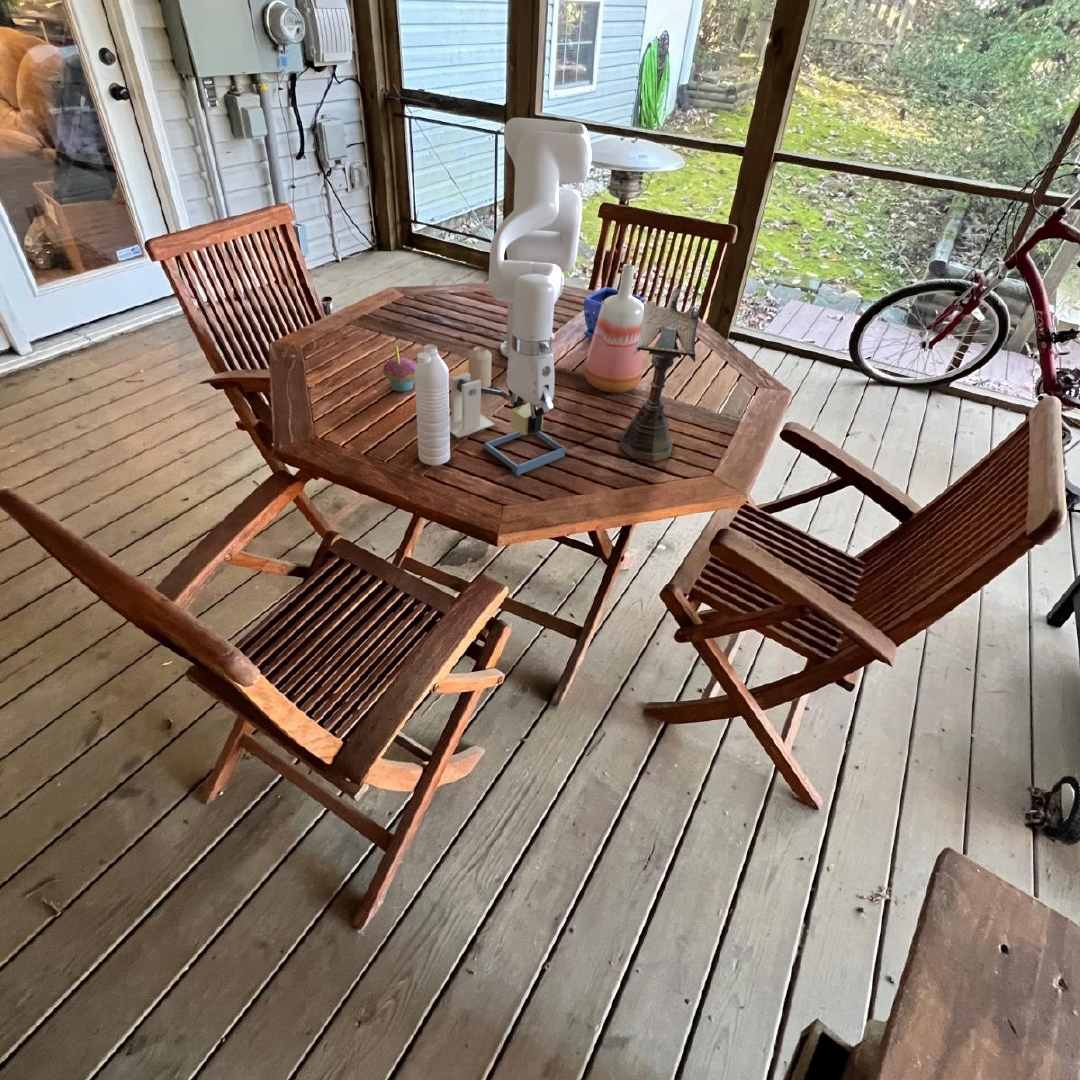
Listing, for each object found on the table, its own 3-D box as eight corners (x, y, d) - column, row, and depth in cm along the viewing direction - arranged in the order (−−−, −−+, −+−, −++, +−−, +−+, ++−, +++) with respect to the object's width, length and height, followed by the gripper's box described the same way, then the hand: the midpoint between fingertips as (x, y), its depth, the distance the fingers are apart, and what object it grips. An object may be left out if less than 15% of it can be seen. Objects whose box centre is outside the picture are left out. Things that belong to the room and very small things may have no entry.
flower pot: (640, 337, 199) (646, 297, 192) (619, 352, 190) (625, 310, 183) (600, 325, 204) (605, 285, 197) (578, 339, 195) (582, 298, 188)
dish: (531, 433, 154) (532, 425, 152) (564, 456, 147) (565, 447, 146) (484, 451, 147) (484, 442, 145) (516, 475, 140) (517, 467, 139)
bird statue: (675, 478, 144) (713, 315, 121) (613, 467, 145) (640, 304, 123) (681, 439, 156) (716, 285, 134) (624, 429, 158) (650, 275, 136)
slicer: (473, 413, 159) (474, 366, 151) (494, 428, 154) (496, 380, 147) (437, 425, 154) (435, 377, 146) (457, 441, 149) (457, 392, 142)
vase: (650, 386, 176) (672, 268, 157) (615, 404, 167) (634, 281, 148) (606, 366, 183) (622, 251, 164) (571, 382, 174) (583, 263, 155)
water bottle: (424, 449, 146) (419, 336, 130) (453, 454, 145) (452, 341, 129) (411, 471, 139) (404, 355, 123) (442, 476, 138) (439, 360, 123)
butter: (528, 419, 145) (529, 402, 143) (542, 428, 143) (543, 411, 140) (510, 426, 143) (511, 409, 140) (523, 435, 140) (524, 418, 138)
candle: (494, 385, 170) (495, 347, 164) (484, 394, 167) (484, 355, 160) (475, 379, 172) (475, 341, 166) (464, 388, 168) (464, 350, 162)
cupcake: (412, 397, 163) (410, 350, 155) (378, 392, 164) (374, 344, 156) (424, 382, 169) (422, 335, 162) (391, 376, 170) (388, 330, 163)
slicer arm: (496, 394, 158) (499, 384, 157) (509, 403, 155) (513, 393, 154) (452, 386, 148) (456, 375, 148) (466, 395, 146) (469, 385, 145)
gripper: (575, 354, 128) (566, 439, 140) (519, 324, 138) (515, 405, 150) (545, 364, 124) (538, 450, 136) (489, 331, 134) (487, 414, 146)
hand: (526, 425), depth 143 cm, fingers closed on butter, 4 cm apart
